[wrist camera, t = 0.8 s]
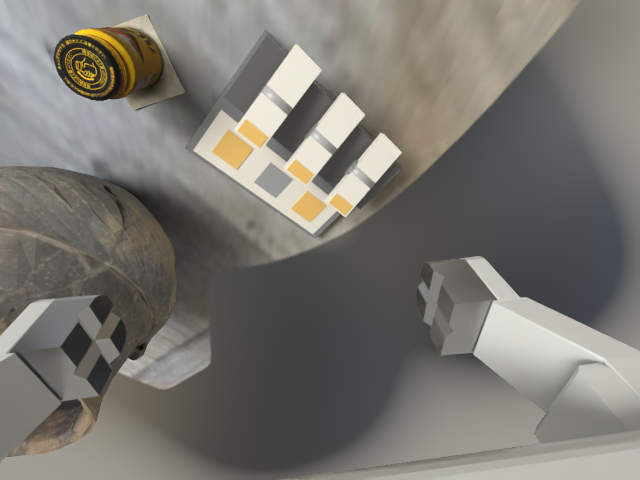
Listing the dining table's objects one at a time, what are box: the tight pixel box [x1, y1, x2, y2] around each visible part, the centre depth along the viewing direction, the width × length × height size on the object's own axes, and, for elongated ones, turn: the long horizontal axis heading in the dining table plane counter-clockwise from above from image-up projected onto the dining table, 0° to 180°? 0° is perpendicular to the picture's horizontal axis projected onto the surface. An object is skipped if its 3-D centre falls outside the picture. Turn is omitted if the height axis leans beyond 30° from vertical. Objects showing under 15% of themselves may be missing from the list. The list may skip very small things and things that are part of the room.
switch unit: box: [185, 30, 402, 238], centre depth 43 cm, size 18×24×6 cm
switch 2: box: [283, 93, 365, 187], centre depth 38 cm, size 11×4×2 cm, turn 138°
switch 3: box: [325, 133, 402, 217], centre depth 41 cm, size 11×4×2 cm, turn 138°
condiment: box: [54, 14, 186, 110], centre depth 33 cm, size 7×8×12 cm
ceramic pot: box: [0, 166, 177, 457], centre depth 38 cm, size 28×28×30 cm
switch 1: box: [234, 44, 322, 151], centre depth 35 cm, size 11×4×2 cm, turn 138°
